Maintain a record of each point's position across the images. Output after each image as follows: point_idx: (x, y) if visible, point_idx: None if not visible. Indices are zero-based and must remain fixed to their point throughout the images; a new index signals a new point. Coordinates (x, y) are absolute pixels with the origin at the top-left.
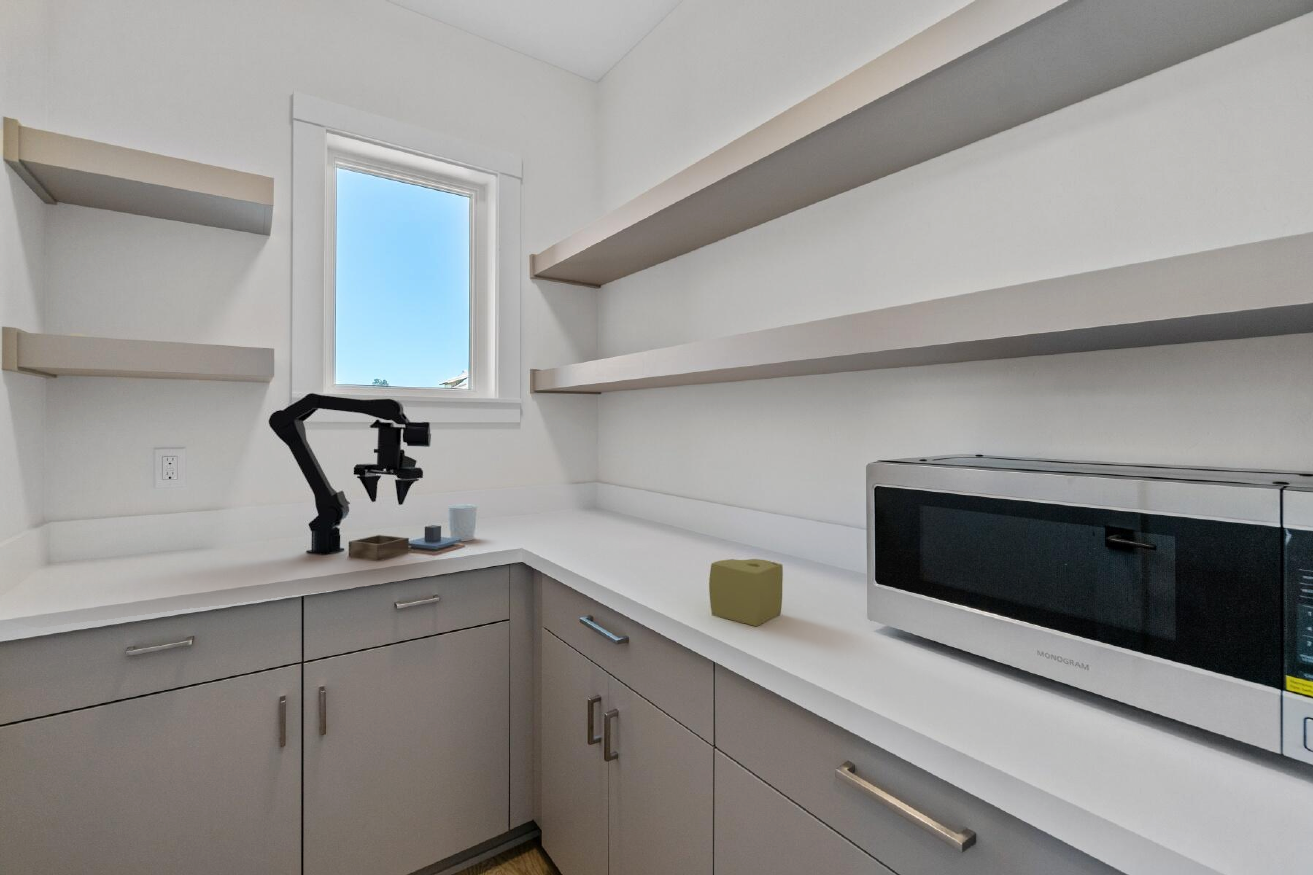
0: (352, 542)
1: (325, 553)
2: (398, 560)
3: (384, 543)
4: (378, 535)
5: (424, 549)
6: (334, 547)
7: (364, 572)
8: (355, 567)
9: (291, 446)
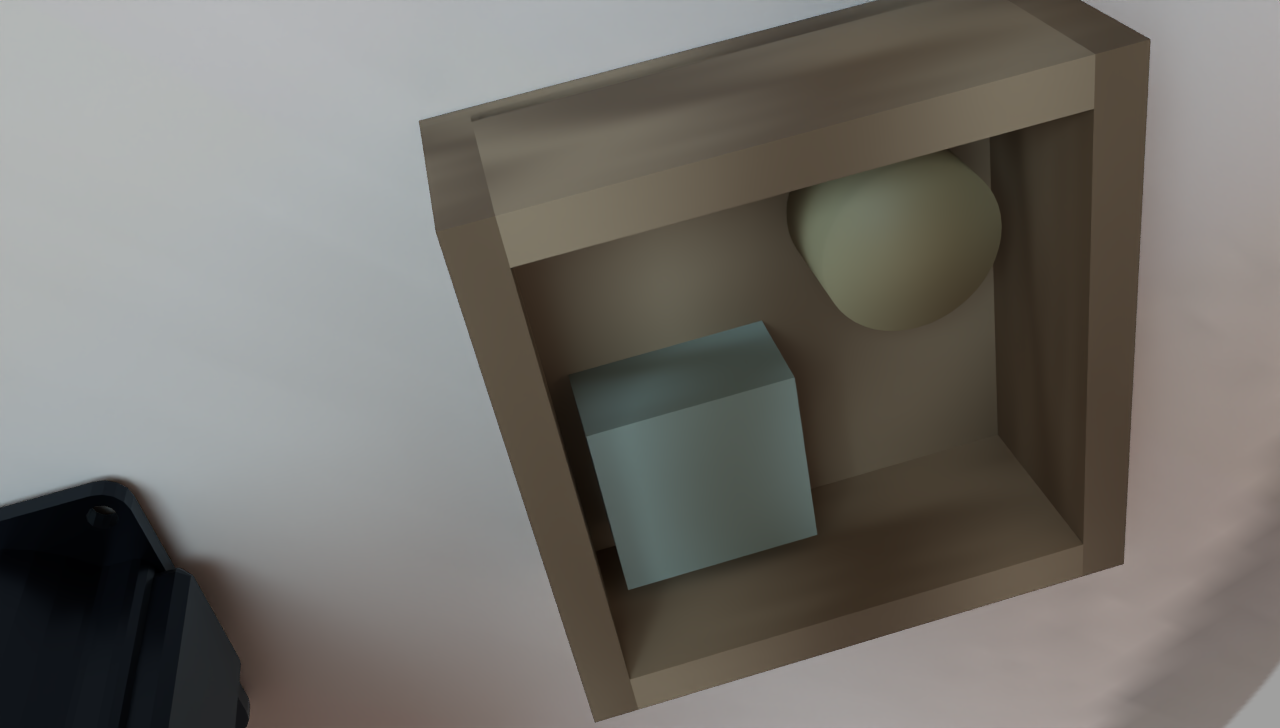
0: (660, 695)
1: (245, 709)
2: (1191, 291)
3: (1107, 488)
4: (487, 267)
5: None
6: (226, 671)
7: (1218, 674)
8: (1017, 666)
9: None
